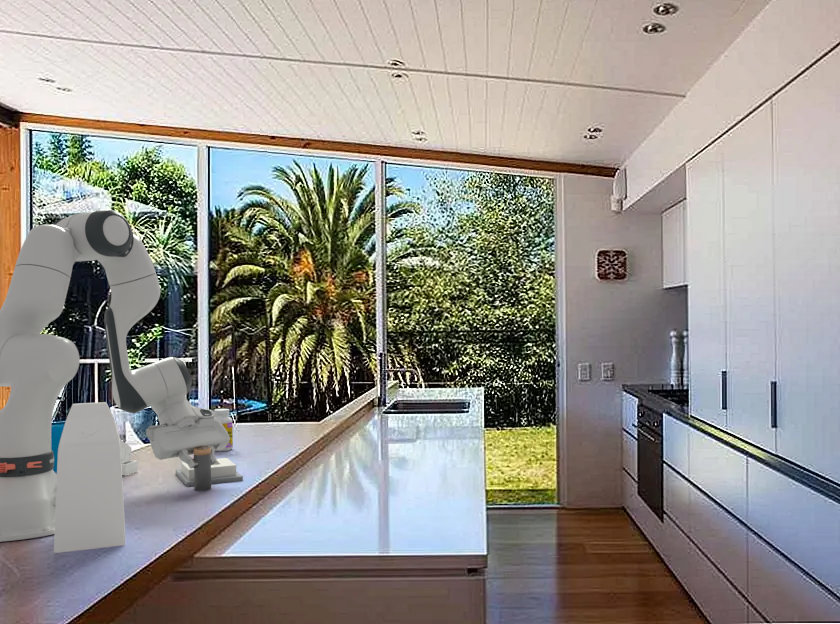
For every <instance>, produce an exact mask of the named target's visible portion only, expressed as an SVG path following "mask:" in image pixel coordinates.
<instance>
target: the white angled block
mask: <svg viewBox="0 0 840 624" xmlns="http://www.w3.org/2000/svg"><path fill="white" fill-rule="evenodd" d="M120 446H121V465H122V475H128V474H131V473H133V474H135V473H134V472H136V473H138V472H139V470H138V466H139V465H138V460H132V447H131V446H130V445H129V444H127V443H126V442H125V441H123V440H122V439H120ZM137 471H138V472H137ZM131 475H132V474H131ZM128 476H129V475H128Z"/></svg>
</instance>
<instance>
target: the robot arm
mask: <svg viewBox="0 0 840 624" xmlns="http://www.w3.org/2000/svg"><path fill="white" fill-rule="evenodd" d="M17 256H18V257H17V258H16V263H15V264H14V265H15V266H14V268H13V273H12V276H11V281H10V284H9V286H8V290H7V292H6V293H7V294H6V296H5V299H4V301H3V304H2V306H1V308H0V387H8V388H9V387H10V392H9V396H8V400H7V401H6V403H5V405H4V407H3V408H1V409H0V542H11V541H20V540H27V539H35V538H41V537H46V536H50V535H54V534H55V509H56V485H57V472H56V471H54V468H55V455H54V451H53V450H52V426H53V424H52V423H53V422H52V421H53V414H54V413H53V412H54V409H55V405H56V403H57V400H58V397H59V395H60V394H61V392H62V390H63V389H64V387H65V386H66V385H67V384H68V383H69V382H70V381H71V380H73V379H74V378H75V376H76V375H77V373H78V371H79V367H80V353H79V350H78V347H77V346H76V344H75V343H74V342H73V341H72V340H70V339H68V338H65V337H62V336H58V335H54V334H48V333H42V332H43V331H44V329H45V328H46V327H47V326H48V325H49V324H50V323H51V322H54V321H55V320H56V319H58V318H59V317H60V315H61V314H62V312H63V311H64V306H65V302H66V299H67V294H68V291H69V286H70V283H71V282H70V281H71V278H72V272H73V266H74V265H75V263H79V262H87V261H88V262H89V261H98V263H99V264H101V266H102V267H103V269H104V271H105V275H106V278H107V283H108V285H109V288H110V292H111V294H110V295H111V296H110V297H111V299H110V304H109V307H107V309H106V310H105V311H104V320H103V321H104V333H105V340H106V347H107V354H108V360H109V368H110V377H111V393H112V397H113V398H112V399H113V401H114V403H115V405H116V406H117V407H118V409H119V410H120V411H123V412H126V413H129V414H137V413H139V412H141V411H143V410H145V409H147V408H148V407H151V410H152V411H153V412H155V414H156V416H157V420H158V423H159V424H156V425H154V424H153V425H149V426H148V427H147V428H146V430H145V435H146V437H147V439H148V440H149V443H150V447H151V449H152V453H153V454H154V456H155V458H157V459H159V460H161V461H163V460H167V459H173V458H179V459H180V461H181V462H185V463H186V464H188V466H189V468H190V469H192V468H196V467H197V466H198V462H197V460H196V459H194V458H193V457H191V456H190V455H194V448H197V447H211V465H214V464H215V463H216V462H217V460H216V459H217V457H216V456H215V452H216V451H215V450H220V449H224V448H225V447H226V446H227V444H228V443H229V440H230V437H229V435H228V433H227V431H226V429H225V428H224V426H223V425H222V423H221V422H220V421H219V420H217V419H215V418H214V417H215V413H214V410H212V409H207V408H202V407H201V408H200V407H198V406H194V405H192V403H191V402H190V401H189V400H188V398H187V397H186V396H187V395H188V393H189V391H190V389H191V387H192V383H193V378H192V375H191V373H190V371H189V369H188V367H187V366H186V363H185V362H184V361H182V359H180V358H177V357H175V356H169V357H166V358H163V359H159V360H157V361H154V362H153V363H150V364H147V365H145V366H144V365H143V366H142V367H137V368H136V369H130V368H131V367H130V363H129V354H128V348H127V335H128V333H129V331H130V330H131V328H133V326H134V325H135V324H137V323H138V322H140V320H141V319H143V318H144V317H145V316H146V315H148V314H149V313H150V312H151V311H152V310H153V309H154V308H155V307H156V305H157V304H158V302H159V299H160V297H161V286H160V281H159V279H158V275H157V273H156V269H155V266H154V264H153V260H152V259H151V257H150V255H149V252H148V250H147V248H146V247H145V245H144V243H143V241H142V240H141V238H140V237H139V236H138V235H135V234H134V233H133V231H132V227H131V225H130V223H129V221H128V220H127V219H126V218H125V216H124V215H123V214H121V213H120V212H119V211H116V210H113V209H107V208H106V209H104V208H102V209H97V210H93V211H88V212H87V211H86V212H83V211H82V212H78V213H76V214H75V213H74V214H71V215H69V216H68V217H62V218H60V219H57V220H56V221H55V222H53V223H51V224H38V225H37V226H34V227H32V229H30V231H28V234H27V236H26V237H25V239H24V242H23V243H22V246H21V248H20V251H19V253H18V255H17Z"/></svg>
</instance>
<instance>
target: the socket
mask: <svg viewBox="0 0 840 624" xmlns="http://www.w3.org/2000/svg"><path fill="white" fill-rule="evenodd" d="M216 460H217V462H216V463H215V464H214V465H211V485H212V484H220V483H221V484H222V483H230V482H231V483H232V482H239V481H240V482H241V481H243V480H244V476H243V475H242V474H240V473H239V472H238V471H237V465H236V463H234V462H233V461H231V460H230V459H229V458H227V457H224V458H223V457H222V458H216ZM175 474H176V476H177V477H178V478H179V479H180V480H181V482H182V483H184V485H185V486H186V487H192V486H193V487H194V468H192V469H190V468H189V466H188V464H186V463H185V462H183V461H181V462H180V469H175Z"/></svg>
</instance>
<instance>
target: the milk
mask: <svg viewBox="0 0 840 624" xmlns="http://www.w3.org/2000/svg"><path fill="white" fill-rule="evenodd" d="M113 415H114V414H113V412H112V411H111V408H110V407H109V405H108V403H107V402H106V401H104V402H100V401H99V402H86V403H85V402H83V403H82V402H81V403H72V405H71V407H70V410H69V411H68V415H67V417H66V419H65V422H64V425H63V428H62V429H63V430H62V431H61V435H60V439H59V443H58V448H57V461H56V462H57V463H56V474H57V485H56V509H55V534H53V535H54V539H53V554H59V553H67V552H69V553H70V552H77V551H85V550H94V549H95V550H96V549H103V548H104V549H105V548H111V547H112V548H113V547H120V546H121V547H122V546H126V522H125V521H126V520H125V505H124V487H123V486H124V485H123V476H122V465H121V446H120V440H121V439H120V438H121V437H120V432H119V429H118V425H117V422H116V420H115V416H113Z"/></svg>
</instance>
